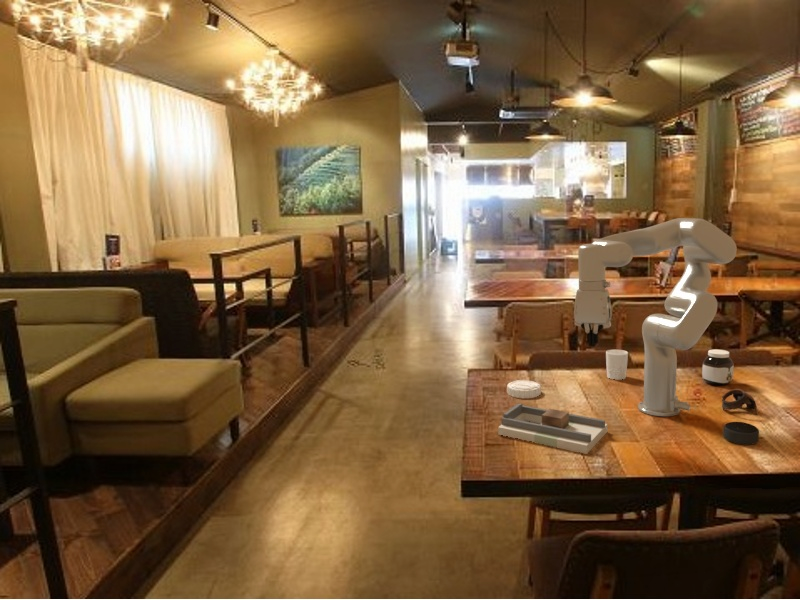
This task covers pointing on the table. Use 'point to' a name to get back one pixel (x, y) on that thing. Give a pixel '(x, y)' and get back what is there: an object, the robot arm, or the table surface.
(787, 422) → the table surface
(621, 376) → the white cup
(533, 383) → the mooncake
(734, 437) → the smart speaker
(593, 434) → the lane board
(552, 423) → the walnut block
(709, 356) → the spread jar
